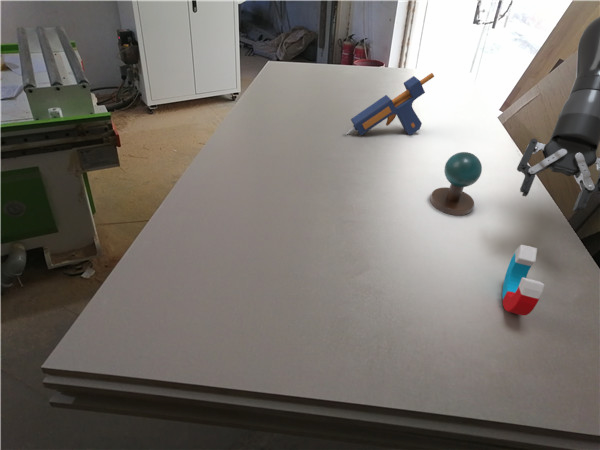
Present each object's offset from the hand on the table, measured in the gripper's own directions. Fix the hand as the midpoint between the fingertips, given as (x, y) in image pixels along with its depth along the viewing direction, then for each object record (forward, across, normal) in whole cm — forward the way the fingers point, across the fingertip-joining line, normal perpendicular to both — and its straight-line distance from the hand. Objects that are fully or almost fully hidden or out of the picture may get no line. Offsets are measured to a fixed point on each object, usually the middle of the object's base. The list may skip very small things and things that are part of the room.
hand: (550, 202), depth 73 cm
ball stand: (0, -17, +22) cm, 27 cm away
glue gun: (-19, -45, +42) cm, 64 cm away
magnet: (+20, 0, +3) cm, 20 cm away
